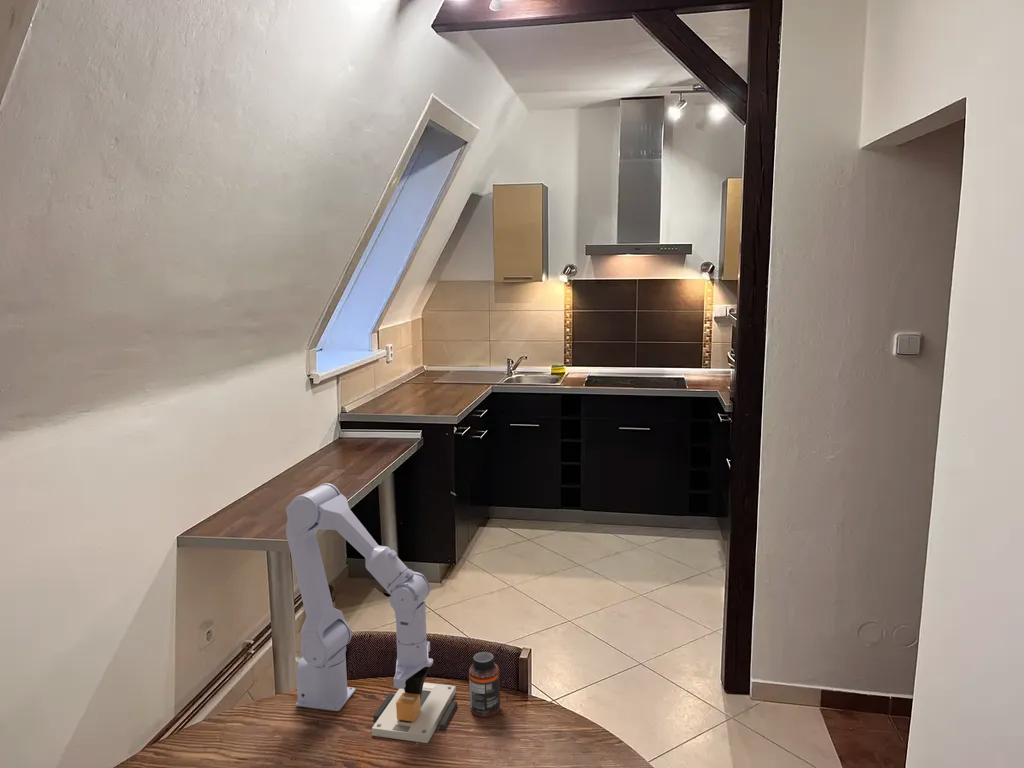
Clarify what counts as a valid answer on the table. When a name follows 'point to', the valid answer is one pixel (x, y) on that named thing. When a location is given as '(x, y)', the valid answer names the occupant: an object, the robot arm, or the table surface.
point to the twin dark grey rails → (442, 723)
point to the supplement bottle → (484, 685)
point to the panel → (426, 722)
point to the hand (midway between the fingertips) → (414, 703)
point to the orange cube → (408, 707)
